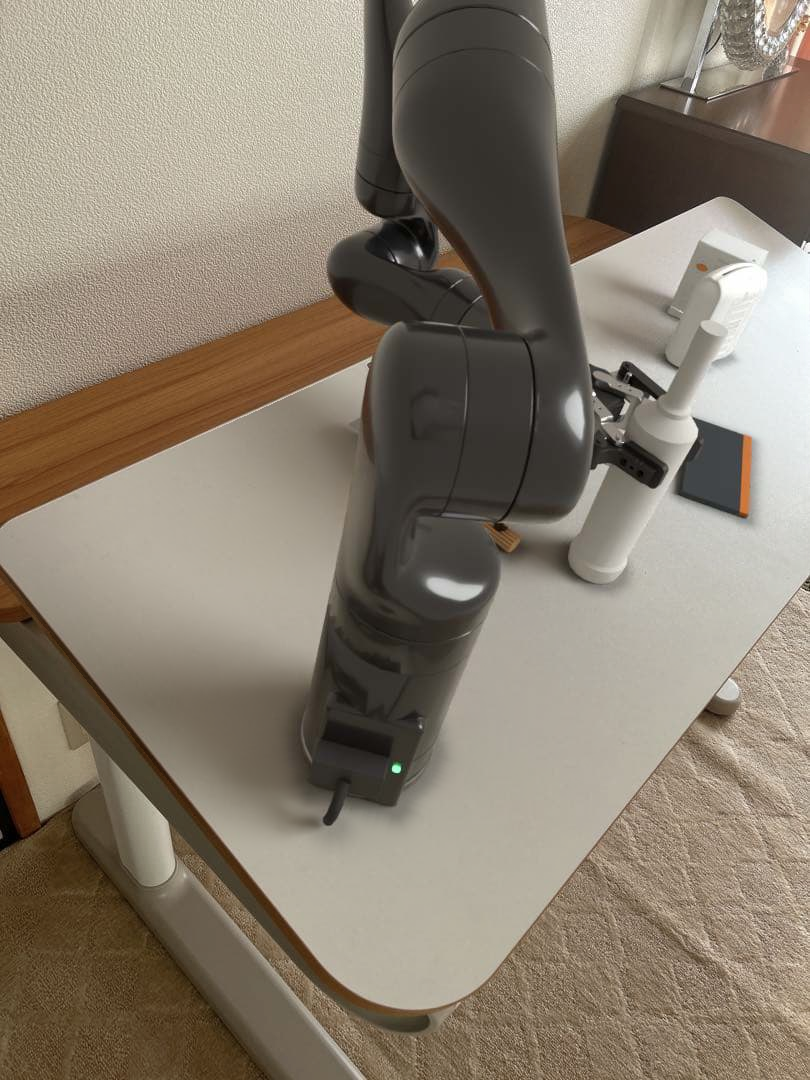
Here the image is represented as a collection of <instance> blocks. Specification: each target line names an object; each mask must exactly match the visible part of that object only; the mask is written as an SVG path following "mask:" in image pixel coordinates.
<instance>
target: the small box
mask: <svg viewBox="0 0 810 1080" xmlns="http://www.w3.org/2000/svg"><path fill="white" fill-rule="evenodd" d="M768 255H769V251H768V250H767V249H764V248H762V247H760V246H757V245H755V244H752V243H751V242H748V241H745V240H743V239H740V238H739V237H736V236H734V235H731V234H729V233H727V232H724V231H722V230H719V229H717V228H715V227H711V229H709V230H708V231H707V232H706V233H705V235H703V236H702V237H701V238H700V239H699V240H698V242H697V245H696V247H695V249H694V251H693V254H692V256H691V258H690V260H689V263H688V265H687V267H686V269H685V272H684V274H683V276H682V278H681V280H680V283H679V285H678V287H677V290H676V292H675V294H674V296H673V298H672V301H671V303H670V305H671V306H673V307H675V308H677V309H678V310H681V311H682V312H684V310H685V307H686V305H687V303H688V301H689V299H690V297H691V295H692V293H693V291H694V289H695V287H696V285H697V283H698V282H699V281H700V280H701V279H702V278H703V277H705V276H706V275H707V274H709V273H711V272H712V271H714V270H716V269H719V268H721V267H724V266H727V265H730V264H735V263H744V262H745V263H753V264H756V265H757V266H758V267H759V268H762V267H763V265H764V263H765V261H766V259H767V257H768ZM667 313H668V314H669V315H670V316H673V317H675V318H677V319H678V320H680V318H681V316H682V314H683V313H681V312H679V311H677V310H675V309H673V308H671V307H670V306H669V307H668V309H667Z"/></svg>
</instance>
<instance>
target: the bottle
mask: <svg viewBox="0 0 810 1080" xmlns="http://www.w3.org/2000/svg"><path fill="white" fill-rule="evenodd" d="M727 335H728V330H727V329H726V328H725V327H724V326H723V325H721V324H719V323H718V322H715V321H710V320H704V321H702V322H701V323H700V325H699V327H698V329H697V331H696V333H695V335H694V337H693V339H692V341H691V343H690V347H689V349H688V351H687V353H686V355H685V357H684V359H683V361H682V363H681V365H680V367H678V368H677V371H676V373H675V375H674V377H673V379H672V381H671V383H670V385H669V386H668V389H667V391H666V392H667V393H666V395H661V396H660V397H659V398H658V400H655V399H654V400H652V401H650V402H645V403H641V404H640V405H639V406H637V407H636V408H635V410H634V412H633V415H632V417H631V419H630V421H629V424H628V426H627V428H626V430H624V432H623V435H624V436H625V437H626V442H625V443H628V442H629V441H630V440H632V441H633V442H635V443H636V444H638V445H639V446H641V447H642V448H644V449H645V450H647V451H648V452H650V453H651V454H653V455H654V456H655V457H657V458H658V459H660V460H661V461H663V462H664V463H666V464H667V465H668V468H669V470H668V473H667V474H666V476H665V478H664V480H663V482H662V484H661V485H659V486H658V487H657V488H655V489H651V488H649V487H648V486H646V485H644V484H642V483H640V482H638V481H637V480H635V478H633V477H631V476H630V475H628V474H627V473H625V472H624V471H622V470H621V469H620V468H618V467H617V466H615V465H614V466H608V468H607V471H606V473H605V475H604V477H603V479H602V482H601V484H600V487H599V489H598V491H597V492H596V495H595V497H594V499H593V502H592V505H591V506H590V509H589V511H588V513H587V515H586V518H585V520H584V522H583V524H582V527H581V529H580V531H579V533H577V534H576V535H575V536H574V537H573V538H572V541H571V544H570V546H569V550H568V555H567V559H568V563H569V567H570V568H571V569H572V571H573V572H574V573H575V575H577V576H578V577H580V578H581V579H583V580H584V581H587V582H589V583H591V584H595V585H596V584H597V585H606V584H610V583H612V582H614V581H615V580H616V579H617V578H618V577H619V576H620V575H621V574H622V573H623V571H624V570H625V568H626V566H627V564H628V560H629V559H628V558H629V555H630V553H631V552H632V550H633V548H634V546H635V544H636V543H637V541H638V539H639V537H640V536H641V534H642V533H643V531H644V530H645V527H646V525H647V524H648V522H649V520H650V519H651V517H652V516H653V513H654V512H655V510H656V509H657V507H658V506H659V503H660V502H661V500H662V498H663V497H664V495H665V494H666V491H667V489H668V488H669V487H670V484H671V483H672V481H673V479H674V478H675V476H676V475H677V473H678V471H679V469H680V467H681V466H682V464H683V463H684V459H685V457H686V455H687V454H688V452H689V450H690V449H691V447H692V445H693V443H694V442H695V440H696V438H697V436H698V428H697V426H696V424H695V422H694V420H693V419H692V417H693V416H692V410H693V409H692V408H693V407H691V404H692V402H693V400H694V398H695V396H696V395H697V393H698V391H699V388H700V386H701V385H702V383H703V381H704V379H705V377H706V375H707V373H708V372H709V369H710V368H711V366H712V364H713V362H714V361H713V360H714V358H715V357H716V356H717V354H718V352H719V350H720V348H721V347H722V345H723V343H724V341H725V339H726V337H727Z"/></svg>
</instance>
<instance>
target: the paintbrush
mask: <svg viewBox="0 0 810 1080" xmlns="http://www.w3.org/2000/svg"><path fill="white" fill-rule="evenodd" d="M348 425H349V427H350V428H351V429H352V430H353V431H354V432H355V433H356V434H357V435H358V433H359V425H360V417H359V418H357V419H355V420H353V421H351V422H349V423H348ZM479 522H480V523H481V524H482V525H483V526H484V527H485V528H486V529H487V531H488V532H489V533H490V535H491V536H492V538H493V540H494V542H495V544H496V545H498V546H499V547H500V548H502V549H503V550H504V551H505V552H506V553H511V552H513V551H514V550H515V549H517V547H518V545H519V544H520V542H521V540H522V537H521V535H520V534H518V533H517V532H516V531H515V530H514V529H512V528H511V527H509V526H508V525H507V524H506V523H496V522H486V521H479Z"/></svg>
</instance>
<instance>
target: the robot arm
mask: <svg viewBox="0 0 810 1080" xmlns="http://www.w3.org/2000/svg"><path fill="white" fill-rule="evenodd" d="M362 17H363V91H362V105H361V108H362V109H361V115H360V116H361V117H360V126H359V133H358V142H357V149H356V150H357V151H356V160H355V168H354V180H353V181H354V194H355V198H356V200H357V202H358V203H359V205H360V206H361V208H363V209H364V210H365V211H366V212H368V213H369V214H371V215H372V216H374V217H377V218H380V221H379V222H378V223H375V224H373V225H371V226H368V227H366V228H364V229H362V230H360V231H356V232H355V233H354V232H353V233H352V234H349V235H348V236H345V237H343V238H342V239H341V240H339V241H338V242H337V243H336V244H335V245H334V246H333V247H332V248H331V249H330V251H329V252H328V253H329V254H328V256H327V260H326V265H325V266H326V268H325V269H326V277H327V280H328V283H329V287H330V288H331V291H332V292H333V294H334V295H335V296H336V298H337V299H338V300H339V301H340V302H341V304H342V305H343V306H344V307H345V308H347V309H348V310H349V311H350V312H352V313H353V314H355V315H357V316H358V317H360V318H362V319H365V320H366V321H369V322H371V323H374V324H377V325H379V326H381V327H385V328H387V330H385V332H384V334H383V335H382V336H381V338H380V339H379V340H378V343H377V344H376V347H375V349H374V351H373V353H372V356H371V360H370V364H369V368H368V370H367V375H366V377H365V378H366V379H365V383H364V391H363V397H362V403H361V407H360V408H361V410H360V416H359V418H360V425H359V433H358V434H357V442H356V450H355V458H354V466H353V472H352V479H351V484H350V489H349V494H348V498H347V504H346V510H345V516H344V521H343V527H342V532H341V538H340V543H339V548H338V552H337V557H336V560H335V568H334V573H333V577H332V582H331V587H330V591H329V595H328V599H327V605H326V611H325V614H324V619H323V623H322V629H321V633H320V638H319V643H318V647H317V652H316V658H315V661H314V666H313V672H312V676H311V682H310V686H309V691H308V696H307V701H306V708H305V709H304V711H303V714H302V719H301V724H300V729H299V741H300V748H301V751H302V754H303V756H304V759H305V761H306V764H307V765H308V766H309V769H310V770H309V775H308V778H307V782H308V783H309V784H310V785H312V786H316V787H320V788H324V789H327V790H330V791H334V793H333V796H332V798H331V801H330V804H329V806H328V809H327V810H326V813H325V814H324V815H323V817H322V823H323V824H324V825H325V826H327V827H330V826H333V824H334V823H335V822H336V820H337V819H338V818H339V815H340V813H341V811H342V809H343V806H344V804H345V801H346V798H347V796H350V797H354V798H357V799H363V800H367V801H371V802H373V803H374V802H375V803H379V804H382V805H386V806H389V807H396V806H397V804H398V802H399V800H400V797H401V794H402V793H403V792H404V791H406V790H408V789H409V788H410V787H412V786H413V785H414V784H415V783H416V782H418V781H419V780H420V779H421V777H422V776H423V774H424V773H425V771H426V769H427V767H428V765H429V763H430V761H431V757H432V755H433V750H434V747H435V744H436V741H437V739H438V736H439V734H440V732H441V729H442V726H443V724H444V721H445V718H446V716H447V714H448V711H449V709H450V706H451V704H452V702H453V700H454V697H455V694H456V692H457V689H458V687H459V685H460V682H461V680H462V677H463V675H464V673H465V670H466V668H467V665H468V663H469V660H470V658H471V655H472V653H473V650H474V648H475V646H476V643H477V641H478V639H479V636H480V634H481V631H482V629H483V626H484V624H485V622H486V619H487V617H488V614H489V612H490V610H491V607H492V605H493V602H494V601H495V597H496V595H497V594H498V593H497V592H498V590H499V586H500V584H501V583H500V582H501V578H502V577H501V576H502V561H501V556H500V551H499V549H498V547H497V543H496V542H494V540H493V538H492V536H491V535H490V533H489V532H488V531H487V529H486V528H485V527H484V526H483V525H482V524H481V523H480V522H479V521H486V522H496V523H504V524H510V525H511V524H512V525H513V524H514V525H548V524H553V523H556V522H559V521H561V520H563V519H565V518H566V517H567V516H568V515H570V514H571V512H572V511H574V509H576V506H577V505H578V504H579V502H580V501H581V499H582V497H583V495H584V492H585V489H586V486H587V483H588V481H589V475H590V473H591V471H595V470H596V469H597V467H598V465H602V464H603V465H605V466H607V467H609V466H614V465H615V466H617V467H618V468H620V469H621V470H622V471H624V472H625V473H627V474H628V475H630V476H631V477H633V478H635V480H637V481H638V482H640V483H642V484H644V485H646V486H648V487H649V488H651V489H655V488H657V487H658V486H659V485H661V484H662V482H663V480H664V478H665V476H666V474H667V473H668V470H669V468H668V465H667V464H666V463H664V462H663V461H661V460H660V459H658V458H657V457H655V456H654V455H653V454H651V453H650V452H648V451H647V450H645V449H644V448H642V447H641V446H639V445H638V444H636V443H635V442H633V441H632V440H630V441H629V442H628V443H625V442H626V437H625V436H624V433H623V432H622V431H625V430H626V428H627V426H628V424H629V421H630V419H631V417H632V415H633V412H634V410H635V408H636V407H637V406H639V405H640V404H641V403H645V402H650V401H653V400H652V399H654V401H655V400H658V398H659V397H660V396H661V395H666V393H667V391H666V389H664V388H663V387H662V386H660V385H659V384H658V383H657V382H656V381H655V380H653V378H651V377H649V376H648V375H647V374H646V373H645V372H644V371H642V369H640V368H639V367H638V366H636V364H635V363H633V362H631V361H629V360H624V361H622V362H621V364H620V366H619V368H618V370H615V371H614V370H613V371H608V370H607V369H605V368H602V367H599V366H596V365H594V364H591V363H590V361H589V355H588V349H587V343H586V338H585V333H584V328H583V327H584V326H583V322H582V317H581V312H580V305H579V301H578V296H577V295H578V294H577V291H576V285H575V279H574V275H573V270H572V265H571V264H572V263H571V259H570V254H569V253H570V252H569V248H568V241H567V238H566V231H565V221H564V214H563V203H562V193H561V181H560V168H559V167H560V166H559V148H558V147H559V145H558V143H559V142H558V121H557V119H558V118H557V99H556V88H555V76H554V75H555V73H554V65H553V64H554V63H553V56H552V47H551V40H550V32H549V24H548V15H547V7H546V0H417V1H416V3H415V4H414V2H413V0H363V16H362ZM439 232H440V233H441V235H442V236H443V237H444V239H445V240H446V242H448V244H449V245H450V246H451V247H452V249H453V250H454V252H455V253H456V254H457V255H458V257H459V258H460V260H461V261H462V262H463V264H464V265H465V267H466V268H467V270H468V271H469V273H468V272H467V271H465V270H463V269H460V268H458V267H452V266H451V267H448V266H447V267H442V268H437V266H438V262H439V258H440V237H439ZM650 397H652V399H650ZM626 402H627V403H629V405H628V407H627V409H626V412H625V413H623V414H621V413H622V411H623V409H624V406H625V404H626ZM704 443H705V441H704V439H703V438H702V437H701V436H700V435H698V436H697V438H696V440H695V442H694V443H693V445H692V447H691V449H690V450H689V452H688V454H687V455H686V457H685V459H684V460H686V461H688V462H691V461H693V460H694V459H695V458H696V457H697V456H698V455H699V453H700V451H701V449H702V447H703V446H704Z"/></svg>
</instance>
